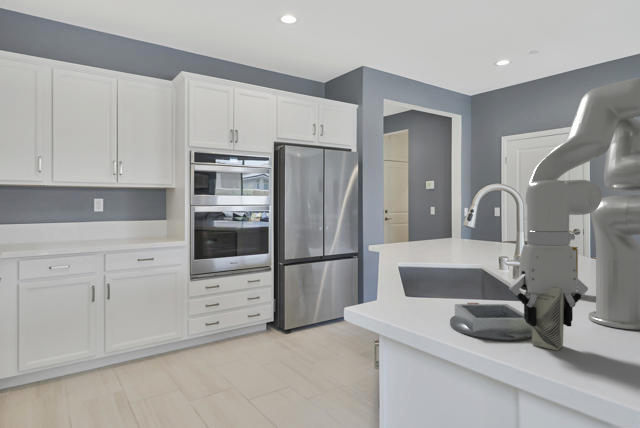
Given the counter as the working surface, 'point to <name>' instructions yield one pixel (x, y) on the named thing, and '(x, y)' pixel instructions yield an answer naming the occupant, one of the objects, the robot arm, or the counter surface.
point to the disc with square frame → (491, 322)
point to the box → (549, 320)
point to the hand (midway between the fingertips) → (548, 323)
